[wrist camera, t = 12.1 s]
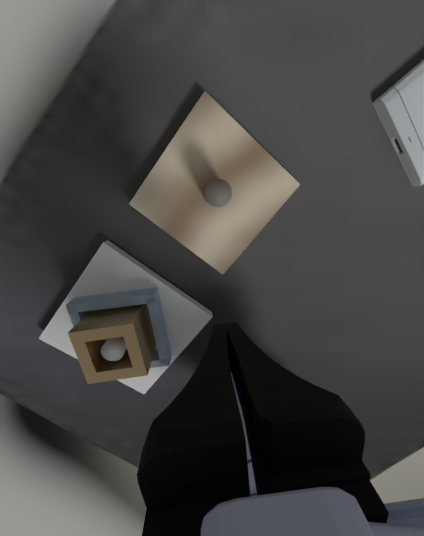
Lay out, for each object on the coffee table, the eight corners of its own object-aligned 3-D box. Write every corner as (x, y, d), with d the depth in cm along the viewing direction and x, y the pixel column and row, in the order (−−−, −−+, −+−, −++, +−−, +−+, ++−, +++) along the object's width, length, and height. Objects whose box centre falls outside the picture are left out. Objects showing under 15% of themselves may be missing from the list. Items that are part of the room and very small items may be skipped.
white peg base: (212, 311, 22) (215, 339, 18) (146, 386, 25) (134, 426, 20) (107, 240, 19) (81, 251, 15) (45, 332, 22) (7, 365, 18)
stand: (295, 185, 19) (323, 181, 14) (221, 271, 21) (227, 290, 17) (204, 96, 16) (206, 61, 12) (132, 203, 19) (111, 205, 14)
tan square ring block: (145, 300, 20) (133, 323, 16) (156, 344, 22) (147, 375, 18) (92, 307, 20) (67, 332, 16) (107, 351, 22) (87, 383, 18)
